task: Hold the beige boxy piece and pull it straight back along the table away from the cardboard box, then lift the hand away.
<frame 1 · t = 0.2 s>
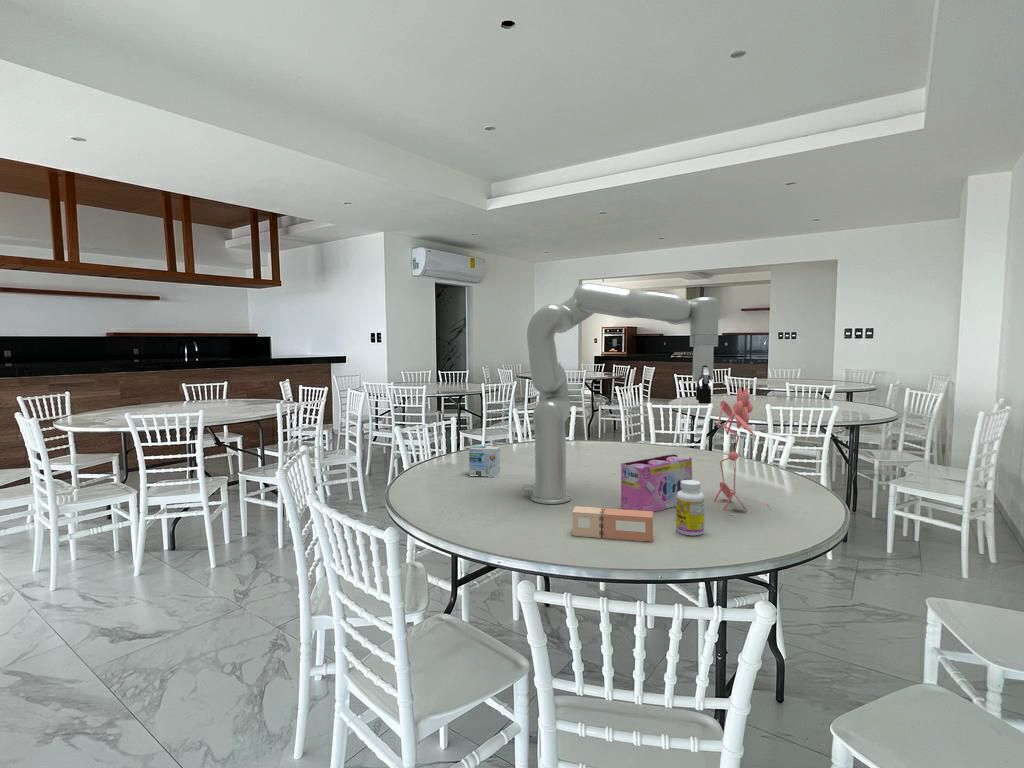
hand: (703, 401, 154), 31 cm above the table, tool pointing down, fingers open, 9 cm apart
light bulb box: (485, 476, 201), on the table
supplement bottle: (690, 532, 136), on the table
beige boxy piece: (587, 521, 136), point 3 cm above the table, slide at 0.0 cm
gum box: (657, 506, 159), on the table
figurine: (742, 506, 158), on the table
cardboard box: (627, 536, 133), on the table
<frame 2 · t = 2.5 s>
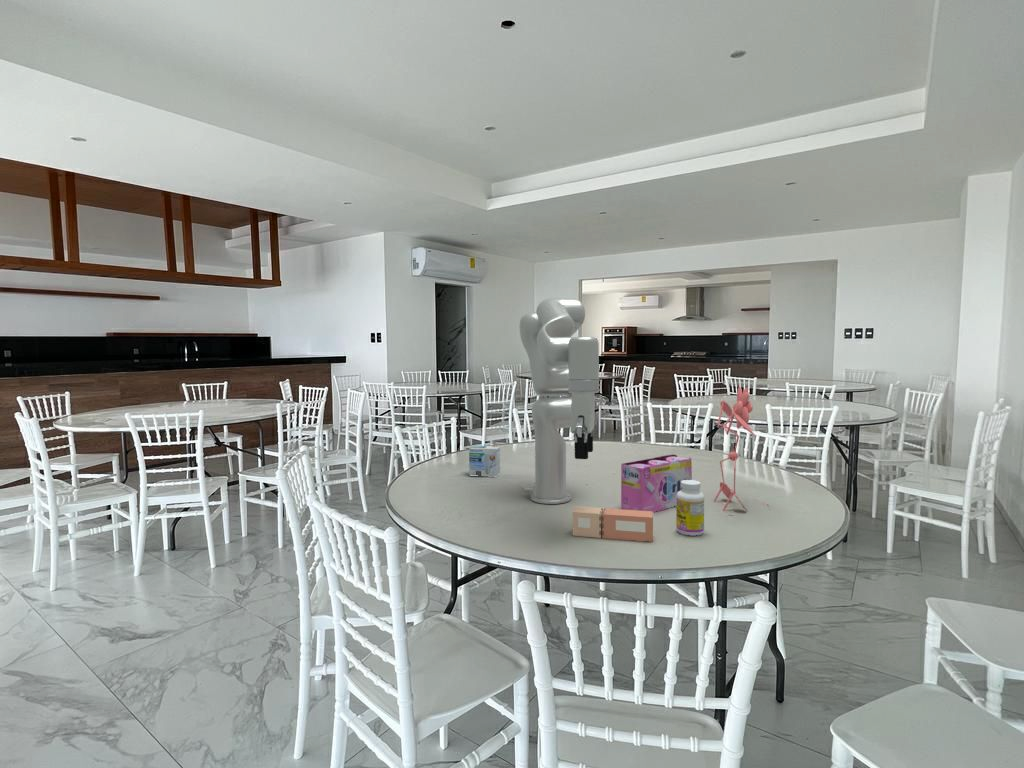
hand: (584, 455, 135), 20 cm above the table, tool pointing down, fingers open, 9 cm apart
nothing on the table moved.
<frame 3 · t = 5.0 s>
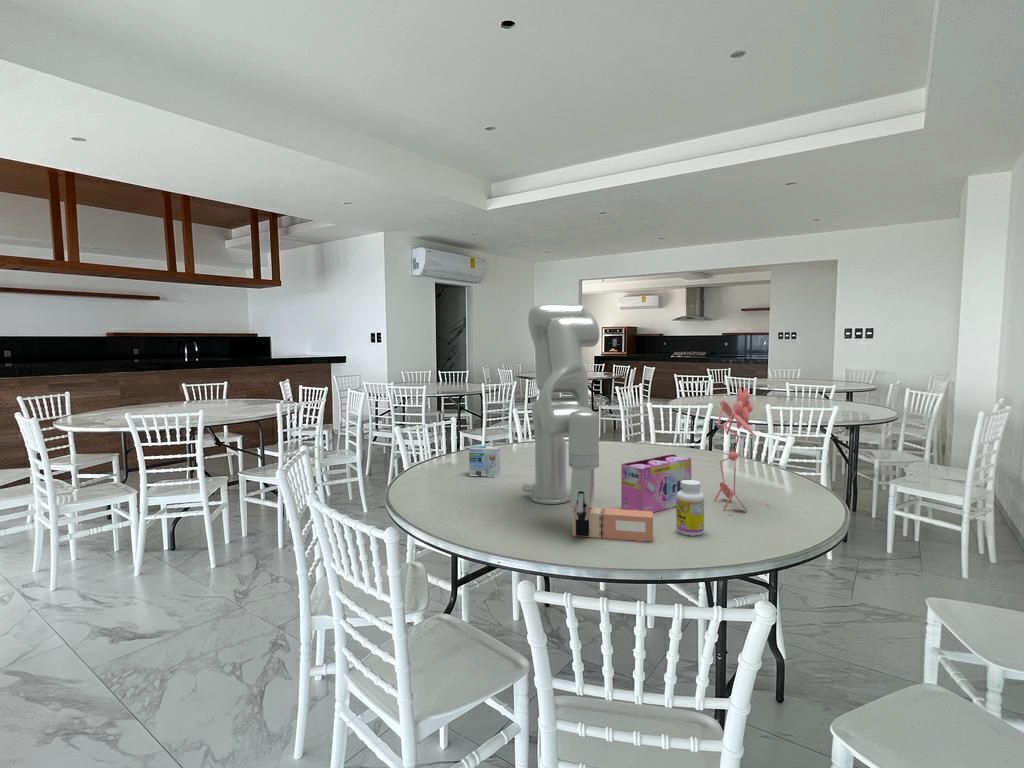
hand: (584, 530, 136), 1 cm above the table, tool pointing down, fingers closed on beige boxy piece, 5 cm apart
beige boxy piece: (587, 521, 136), point 3 cm above the table, slide at 0.0 cm, touching gripper
everything else where it was.
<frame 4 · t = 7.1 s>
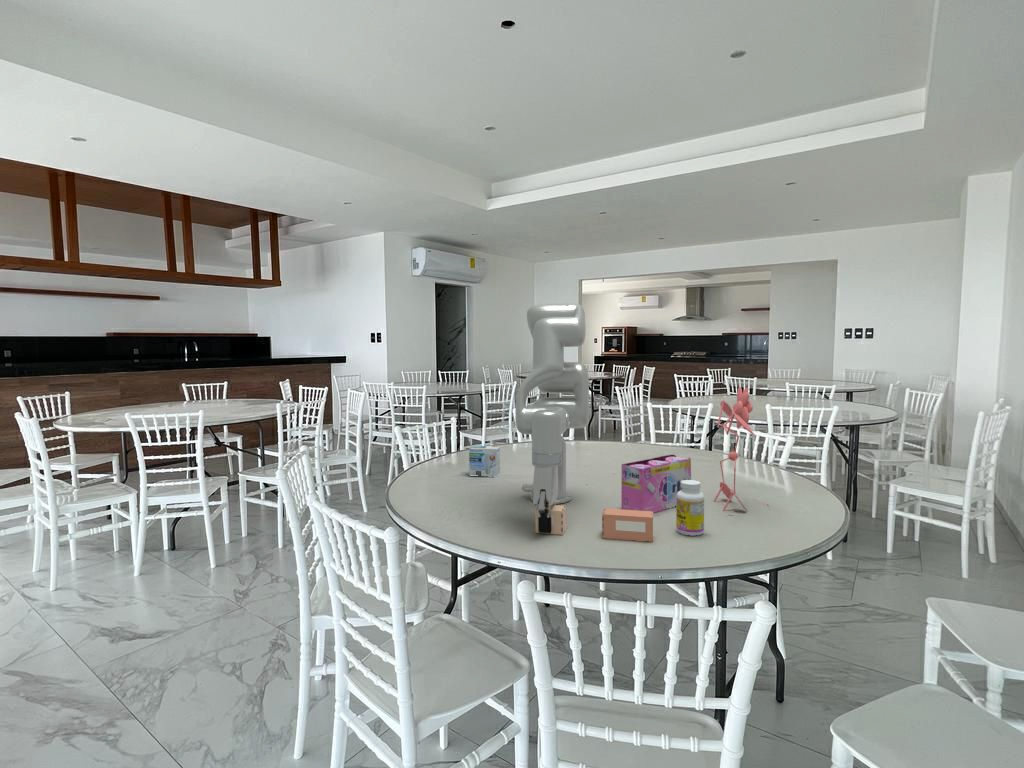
hand: (547, 528, 138), 1 cm above the table, tool pointing down, fingers closed on beige boxy piece, 5 cm apart
beige boxy piece: (551, 518, 138), point 3 cm above the table, slide at 9.4 cm, touching gripper
everything else where it was.
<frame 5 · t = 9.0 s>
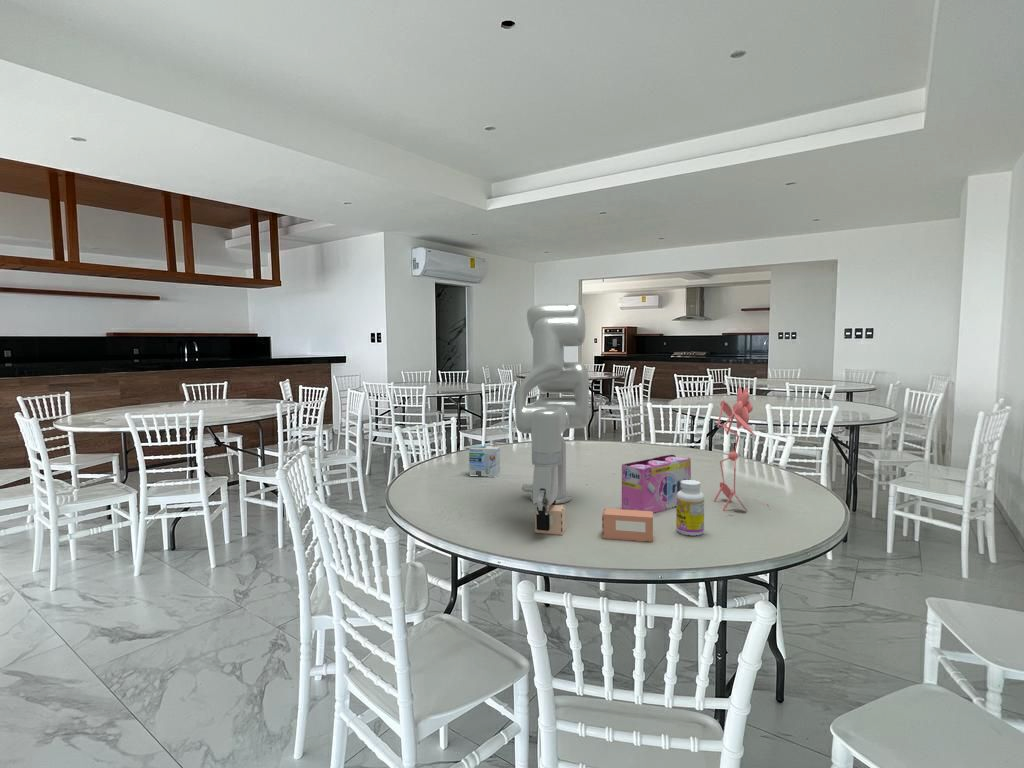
hand: (547, 523, 138), 2 cm above the table, tool pointing down, fingers open, 9 cm apart
beige boxy piece: (550, 518, 138), point 3 cm above the table, slide at 9.5 cm
everything else where it was.
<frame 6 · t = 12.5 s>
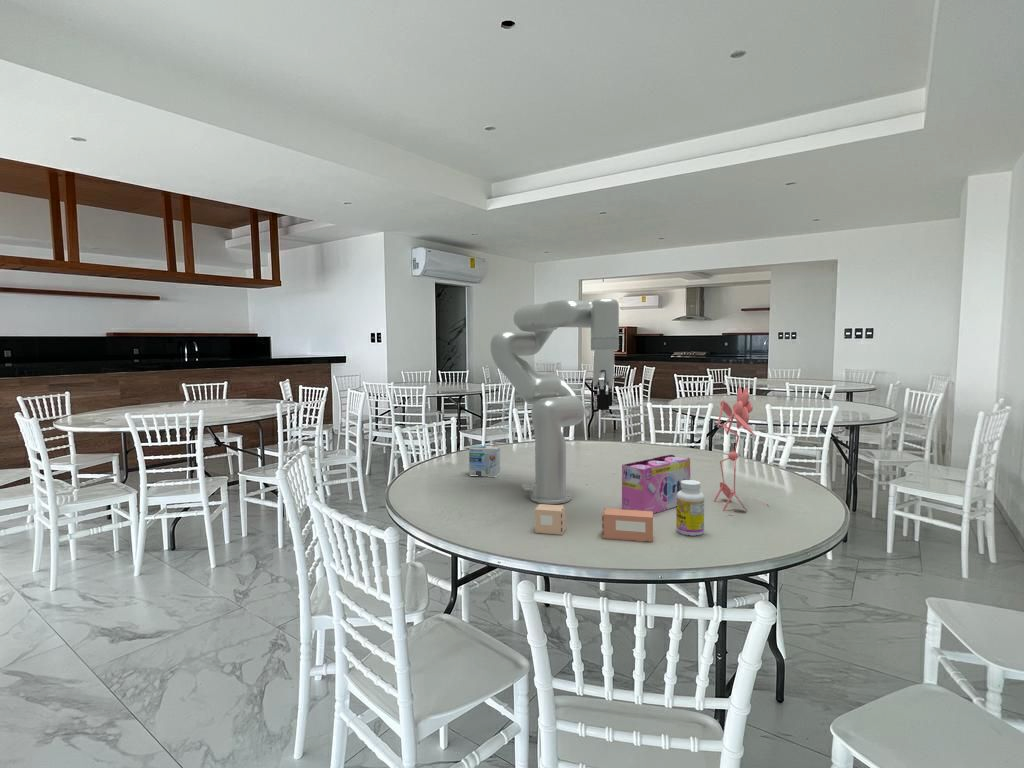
hand: (604, 407, 148), 30 cm above the table, tool pointing down, fingers open, 9 cm apart
nothing on the table moved.
at the end: beige boxy piece slide at 9.5 cm; the gripper is holding nothing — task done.
